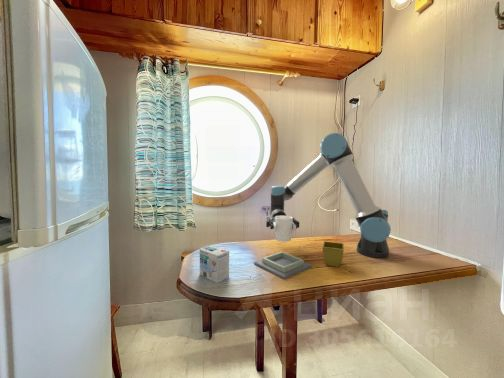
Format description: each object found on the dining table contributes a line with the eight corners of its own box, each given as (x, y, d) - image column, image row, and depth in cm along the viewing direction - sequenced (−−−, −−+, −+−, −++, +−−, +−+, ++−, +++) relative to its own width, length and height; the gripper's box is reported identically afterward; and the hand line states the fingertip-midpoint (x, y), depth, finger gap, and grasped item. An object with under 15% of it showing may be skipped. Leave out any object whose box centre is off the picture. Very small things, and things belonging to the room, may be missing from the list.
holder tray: (311, 266, 99) (312, 260, 99) (284, 279, 88) (284, 271, 88) (281, 254, 113) (281, 249, 113) (254, 264, 102) (254, 257, 102)
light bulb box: (199, 275, 91) (198, 248, 90) (212, 269, 96) (211, 244, 95) (217, 283, 84) (216, 255, 83) (229, 277, 89) (229, 250, 88)
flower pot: (321, 266, 100) (322, 246, 100) (323, 259, 108) (323, 240, 108) (342, 269, 97) (343, 249, 96) (342, 262, 105) (343, 243, 104)
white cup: (292, 243, 95) (292, 219, 94) (273, 241, 97) (273, 218, 96) (292, 237, 103) (293, 215, 102) (275, 236, 104) (275, 215, 104)
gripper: (298, 224, 117) (309, 238, 95) (259, 224, 118) (260, 237, 95) (299, 210, 117) (309, 220, 94) (259, 210, 117) (260, 219, 94)
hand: (285, 228), depth 94 cm, fingers closed on white cup, 8 cm apart
